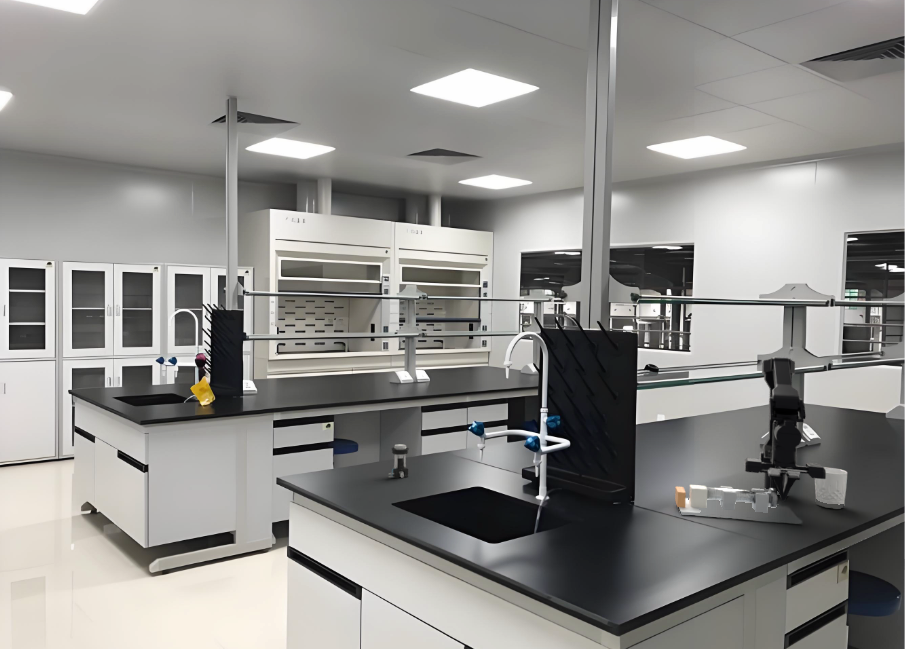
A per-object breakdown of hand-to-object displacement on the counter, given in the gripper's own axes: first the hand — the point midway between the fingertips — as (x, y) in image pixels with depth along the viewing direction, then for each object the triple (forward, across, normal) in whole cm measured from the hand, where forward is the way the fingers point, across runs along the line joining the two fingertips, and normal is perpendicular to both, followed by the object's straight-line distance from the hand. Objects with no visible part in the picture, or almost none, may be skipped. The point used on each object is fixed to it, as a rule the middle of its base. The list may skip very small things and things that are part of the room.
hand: (782, 500), depth 175 cm
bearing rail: (+4, +12, +2) cm, 12 cm away
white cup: (+4, -13, -16) cm, 21 cm away
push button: (+4, +109, +6) cm, 109 cm away
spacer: (+3, +21, +3) cm, 21 cm away
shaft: (+2, +10, +1) cm, 11 cm away
